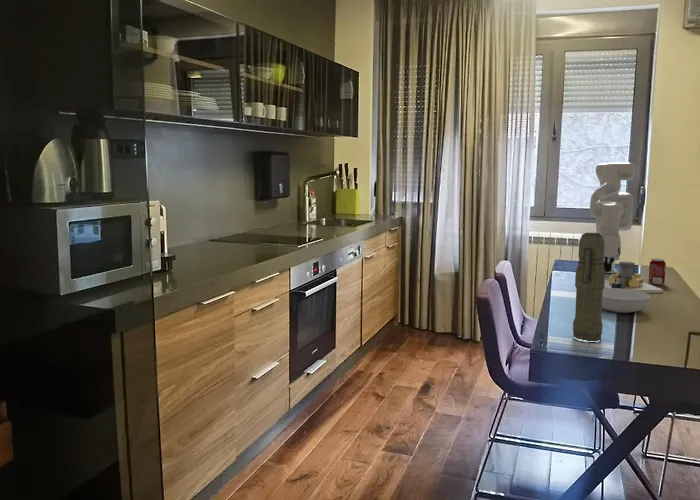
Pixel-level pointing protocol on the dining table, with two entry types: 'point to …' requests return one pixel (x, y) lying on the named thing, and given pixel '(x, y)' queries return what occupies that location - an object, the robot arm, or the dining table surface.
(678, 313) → the dining table surface
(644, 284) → the hub plate
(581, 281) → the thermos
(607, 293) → the serving bowl
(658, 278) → the soda can
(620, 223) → the robot arm
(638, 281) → the tan ring with handle
